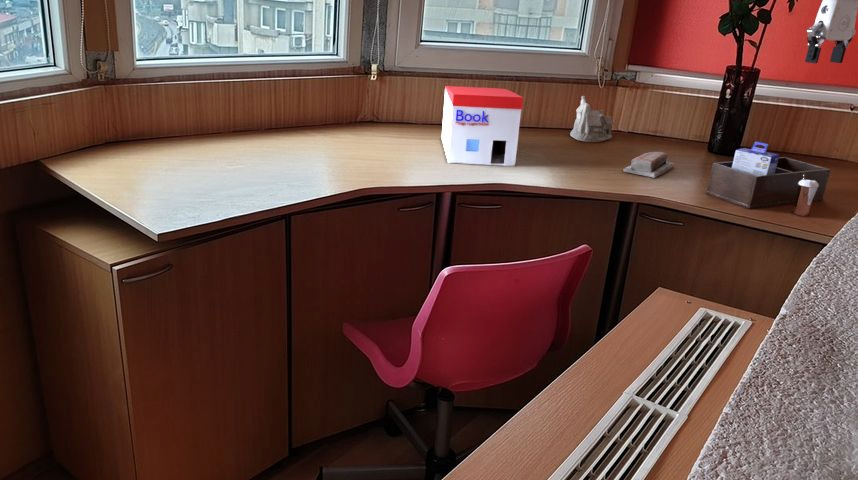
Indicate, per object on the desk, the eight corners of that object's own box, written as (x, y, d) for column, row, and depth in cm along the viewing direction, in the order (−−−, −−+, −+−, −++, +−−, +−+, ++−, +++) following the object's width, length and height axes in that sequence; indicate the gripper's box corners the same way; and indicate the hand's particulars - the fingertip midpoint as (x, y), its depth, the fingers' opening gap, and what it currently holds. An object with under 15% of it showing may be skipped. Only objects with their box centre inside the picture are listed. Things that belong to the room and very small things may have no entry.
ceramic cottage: (575, 140, 258) (583, 98, 253) (566, 133, 273) (574, 93, 268) (618, 145, 258) (627, 103, 253) (607, 137, 273) (615, 97, 268)
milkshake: (803, 210, 189) (813, 174, 185) (813, 217, 184) (824, 179, 180) (785, 210, 189) (795, 173, 185) (795, 216, 184) (805, 178, 180)
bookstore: (448, 163, 220) (453, 94, 212) (441, 138, 252) (445, 78, 245) (515, 166, 220) (523, 97, 212) (500, 141, 253) (506, 80, 245)
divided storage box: (822, 200, 199) (831, 169, 196) (749, 209, 188) (757, 176, 185) (777, 186, 212) (784, 156, 208) (706, 193, 201) (712, 162, 197)
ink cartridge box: (769, 198, 195) (783, 145, 190) (761, 201, 192) (774, 148, 186) (734, 189, 202) (745, 138, 196) (725, 192, 198) (736, 140, 193)
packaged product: (658, 163, 211) (625, 157, 217) (655, 178, 213) (622, 172, 219) (676, 152, 225) (644, 147, 230) (673, 167, 227) (641, 162, 232)
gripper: (832, -7, 177) (814, 64, 184) (877, -5, 184) (858, 64, 190) (805, -8, 183) (788, 61, 190) (850, -6, 190) (832, 60, 197)
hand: (823, 62), depth 190 cm, fingers open, 9 cm apart
